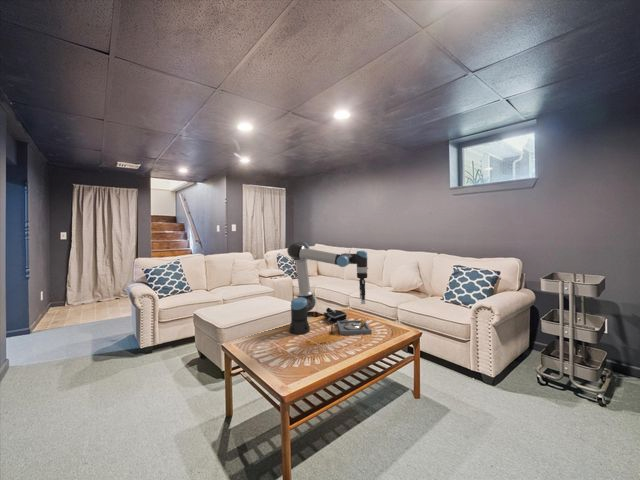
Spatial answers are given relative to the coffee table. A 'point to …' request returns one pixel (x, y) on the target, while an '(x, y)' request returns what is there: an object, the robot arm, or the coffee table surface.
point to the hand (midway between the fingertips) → (362, 301)
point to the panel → (345, 331)
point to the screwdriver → (334, 330)
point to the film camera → (334, 315)
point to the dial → (355, 325)
